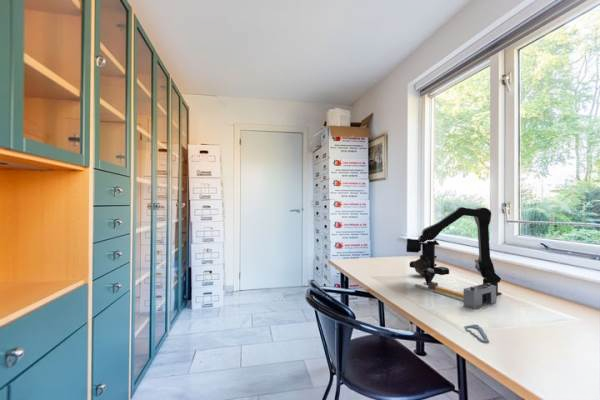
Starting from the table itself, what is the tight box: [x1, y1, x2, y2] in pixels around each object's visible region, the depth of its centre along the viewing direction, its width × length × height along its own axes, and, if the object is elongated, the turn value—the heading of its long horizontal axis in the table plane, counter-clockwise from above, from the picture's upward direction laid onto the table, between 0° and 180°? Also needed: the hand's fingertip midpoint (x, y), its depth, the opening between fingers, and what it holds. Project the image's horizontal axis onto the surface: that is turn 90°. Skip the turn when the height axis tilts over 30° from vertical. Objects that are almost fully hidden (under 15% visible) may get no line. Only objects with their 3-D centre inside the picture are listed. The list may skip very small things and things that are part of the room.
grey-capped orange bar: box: [427, 281, 484, 304], centre depth 125 cm, size 24×4×4 cm, turn 27°
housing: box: [414, 281, 497, 310], centre depth 126 cm, size 16×32×8 cm, turn 28°
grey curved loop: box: [464, 324, 490, 344], centre depth 88 cm, size 12×1×5 cm
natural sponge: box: [414, 268, 424, 277], centre depth 157 cm, size 9×9×10 cm
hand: (428, 284), depth 137 cm, fingers closed
